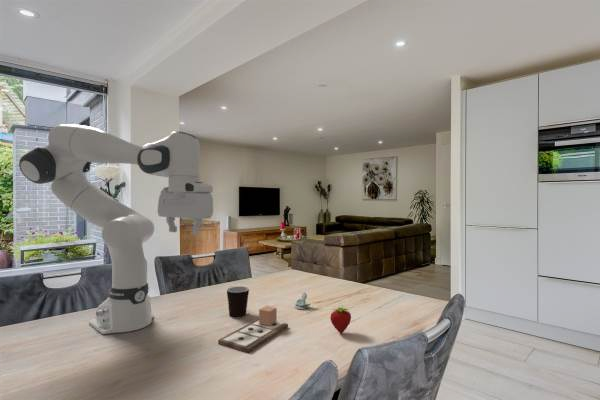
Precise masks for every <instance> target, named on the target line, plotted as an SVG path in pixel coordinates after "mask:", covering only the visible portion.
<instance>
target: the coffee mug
mask: <svg viewBox="0 0 600 400" xmlns="http://www.w3.org/2000/svg"><path fill="white" fill-rule="evenodd" d="M249 292H250V288H249V287H247V286H243V285H242V286H239V285H238V286H231V287H228V288H227V289H226V297H227V304H228V314H229V317H231V318H234V319H237V318H238V319H239V318H245V316H246V315H247V308H248V299H249V294H250V293H249Z"/></svg>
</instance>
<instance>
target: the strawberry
mask: <svg viewBox="0 0 600 400" xmlns="http://www.w3.org/2000/svg"><path fill="white" fill-rule="evenodd" d="M339 303H340V305H341V307H340V306H337V307H338V308H337V309H333V311H332V313H330V318H329V319H330V322H331V324H332V325H333V327H334V328H335V329H336V331H337V332H338V333H339V334H343V333H344V332H345V330H346V329H348V326H349V325H350V323H351V319H352V315H351V312H350V311H349V308H344V306H343V305H342V303H341V302H339Z"/></svg>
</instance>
